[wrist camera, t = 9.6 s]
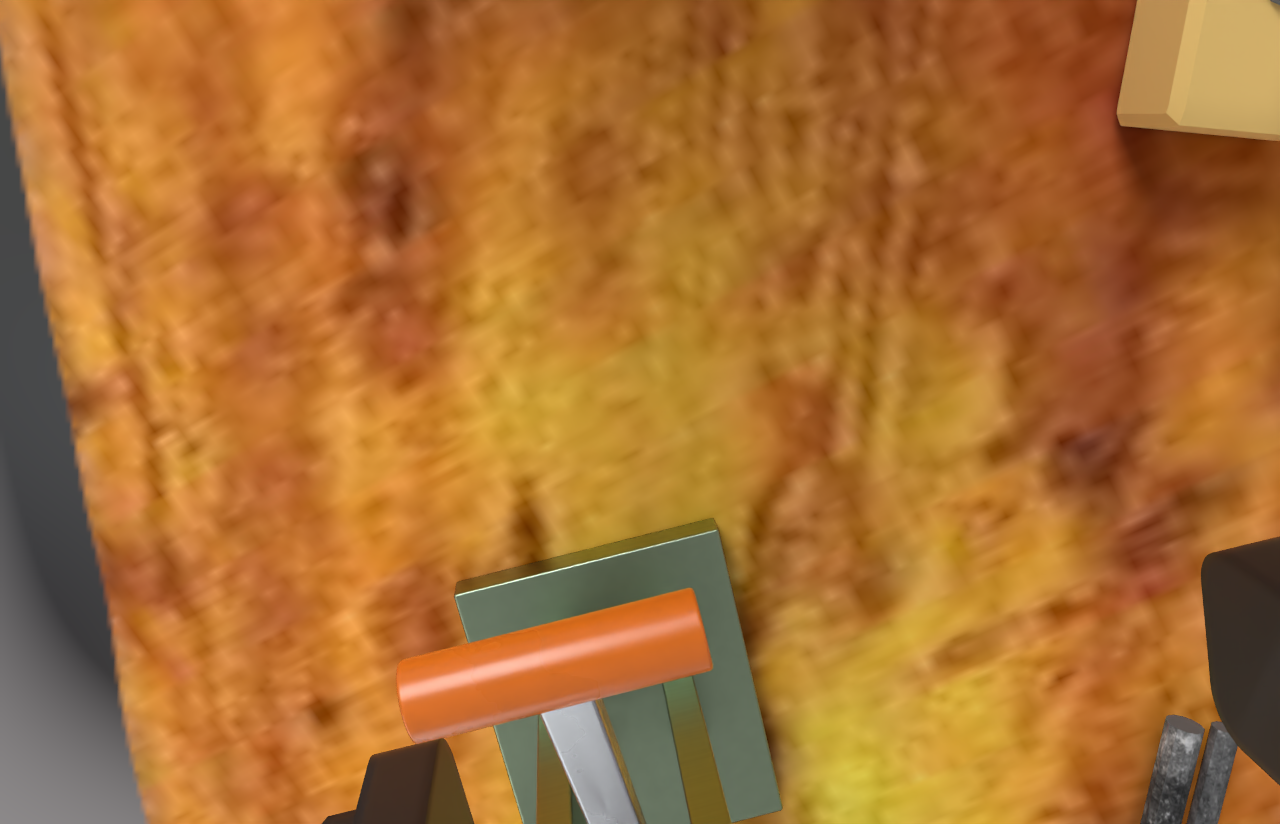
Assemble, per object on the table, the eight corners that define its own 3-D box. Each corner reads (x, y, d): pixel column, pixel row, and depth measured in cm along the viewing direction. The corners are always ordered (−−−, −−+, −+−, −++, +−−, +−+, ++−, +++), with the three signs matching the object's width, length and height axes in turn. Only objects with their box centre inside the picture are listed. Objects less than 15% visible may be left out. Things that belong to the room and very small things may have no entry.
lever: (393, 625, 21) (396, 738, 20) (684, 552, 21) (712, 659, 20) (550, 911, 31) (562, 1004, 29) (751, 860, 31) (774, 950, 29)
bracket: (456, 581, 39) (411, 812, 26) (713, 516, 39) (795, 714, 26) (537, 852, 42) (534, 1182, 29) (777, 791, 42) (879, 1092, 29)
